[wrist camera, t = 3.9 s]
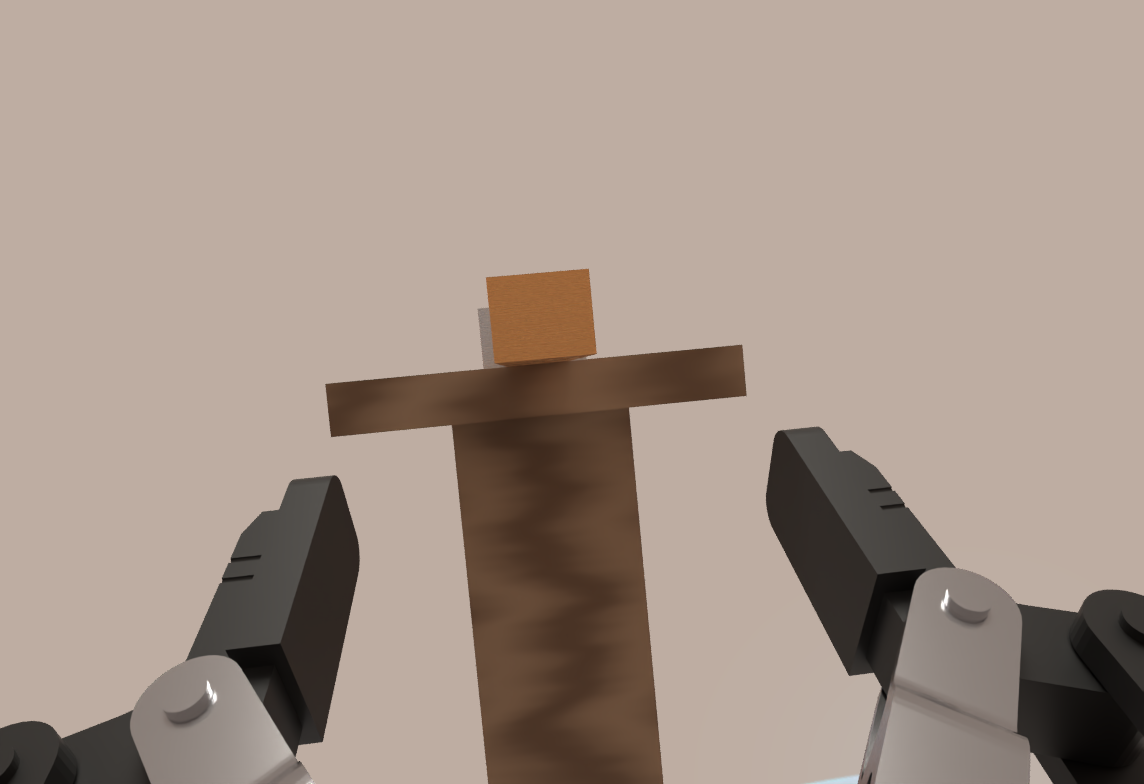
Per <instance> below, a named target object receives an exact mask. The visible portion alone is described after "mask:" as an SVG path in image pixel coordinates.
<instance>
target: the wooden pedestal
mask: <svg viewBox="0 0 1144 784" xmlns="http://www.w3.org/2000/svg"><path fill="white" fill-rule="evenodd" d="M326 393H327V403H328V413H329V421H330V431H331V437H336V436H346V435H356V434H366V433H376V432H386V431H395V430H407V429H416V428H427V427H436V426H447V425H452V430H453V439H454V450H455V460H456V470H457V479H458V489H459V499H460V509H461V519H462V529H463V539H464V547H465V559H466V568H467V578H468V588H469V597H470V608H471V618H472V626H473V627H472V628H473V637H474V647H475V657H476V666H477V677H478V687H479V697H480V706H481V716H482V726H483V736H484V746H485V756H486V765H487V776H488V784H663V775H662V765H661V753H660V742H659V731H658V721H657V710H656V700H655V688H654V677H653V667H652V655H651V645H650V633H649V623H648V612H647V600H646V590H645V579H644V568H643V557H642V547H641V536H640V525H639V514H638V503H637V492H636V481H635V471H634V459H633V449H632V437H631V426H630V415H629V407H638V406H648V405H658V404H667V403H679V402H689V401H698V400H708V399H719V398H728V397H739V396H746V384H745V372H744V362H743V349H742V345H735V346H725V347H714V348H703V349H692V350H682V351H671V352H661V353H650V354H639V355H629V356H619V357H608V358H597V359H586V360H576V361H565V362H554V363H544V364H533V365H522V366H512V367H501V368H491V369H480V370H469V371H459V372H448V373H438V374H427V375H416V376H406V377H396V378H384V379H374V380H363V381H352V382H342V383H331V384H326Z"/></svg>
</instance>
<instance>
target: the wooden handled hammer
mask: <svg viewBox="0 0 1144 784" xmlns="http://www.w3.org/2000/svg"><path fill="white" fill-rule="evenodd" d="M589 279H590V278H589V269H581V270H569V271H557V272H546V273H535V274H524V275H523V274H522V275H511V276H499V277H487V278H486V282H487V292H488V302H489V308H482V309H478V316H479V326H480V336H481V346H482V355H483V366H484V369H491V368H501V367H512V366H522V365H533V364H544V363H554V362H565V361H576V360H586V357H587V356H591V355H594V354H597V353H596V342H595V332H594V322H593V310H592V299H591V288H590V280H589Z"/></svg>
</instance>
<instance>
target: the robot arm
mask: <svg viewBox="0 0 1144 784" xmlns="http://www.w3.org/2000/svg"><path fill="white" fill-rule="evenodd" d="M766 505H767V512H768V516H769V520H770V523H771V526H772V528H773V530H774V532H775V534H776V536H777V538H778V540H779V541H780V543H781V545H782V547H783V549H784V551H785V553H786V555H787V557H788V559H789V561H790V563H791V565H792V567H793V568H794V570H795V572H796V574H797V576H798V578H799V580H800V582H801V584H802V586H803V587H804V590H805V592H806V593H807V595H808V597H809V599H810V601H811V603H812V605H813V607H814V609H815V611H816V612H817V615H818V617H819V619H820V620H821V623H822V624H823V626H824V628H825V630H826V632H827V634H828V636H829V638H830V640H831V642H832V644H833V646H834V648H835V649H836V651H837V653H838V655H839V657H840V659H841V661H842V663H843V665H844V667H845V669H846V671H847V673H848V675H849V676H852V675H859V674H867V673H874V674H875V675H876V677H877V679H878V681H879V683H880V685H881V686H882V687H881V690H880V693H879V696H878V700H877V704H876V708H875V712H874V717H873V721H872V725H871V730H870V734H869V738H868V742H867V746H866V750H865V755H864V759H863V764H862V768H861V772H860V776H859V780H858V784H1029V781H1030V779H1029V778H1030V752H1031V753H1034V754H1035V756H1036V758H1037V759H1038V761H1039V762H1040V764H1041V765H1042V767H1043V769H1044V770H1045V772H1046V773H1047V775H1048V776H1049V778H1050V779H1051V781H1052V782H1053V784H1144V596H1142V595H1139V594H1136V593H1132V592H1128V591H1122V590H1102V591H1097V592H1094V593H1092V594H1091V595H1089V596H1088V597H1087V598H1086V599H1085V600H1084V602H1083V604H1082V606H1081V608H1080V610H1079V612H1078V613H1076V612H1069V611H1062V610H1056V609H1049V608H1042V607H1041V608H1040V607H1035V606H1028V605H1022V604H1017V603H1015V601H1014V600H1013V599H1012V597H1011V596H1010V595H1009V594H1008V593H1007V592H1006V591H1005V590H1003V589H1002V588H1001V587H1000V586H998V585H997V584H995V583H994V582H992V581H991V580H989V579H987V578H985V577H983V576H981V575H979V574H976V573H973V572H970V571H967V570H963V569H957V568H955V566H954V565H953V564H952V563H951V561H950V560H949V559H948V558H947V556H946V555H945V554H944V552H943V551H942V550H941V549H940V547H939V546H938V545H937V544H936V542H935V541H934V540H933V539H932V537H931V536H930V535H929V534H928V532H927V531H926V530H925V529H924V527H923V526H922V525H921V523H920V522H919V521H918V520H917V518H916V517H915V516H914V515H913V513H912V512H911V511H910V509H909V508H905V505H904V502H903V501H902V499H901V498H900V497H899V496H898V494H897V493H896V492H895V491H892V489H891V486H890V484H889V483H888V482H887V480H886V479H885V478H884V477H883V475H882V474H881V473H880V472H879V470H878V469H877V468H876V467H875V466H874V465H872V464H870V463H869V462H868V461H866V460H865V459H863V458H862V457H860V456H858V455H857V454H855V453H854V452H852V451H842V452H839V450H838V449H837V448H836V446H835V445H834V444H833V442H832V441H831V439H830V438H829V437H828V435H827V434H826V433H825V431H824V430H823V429H822V428H820V427H810V428H801V429H791V430H781V431H778V432H777V433H776V435H775V438H774V443H773V449H772V456H771V463H770V471H769V478H768V485H767V493H766ZM359 561H360V560H359V544H358V539H357V535H356V532H355V528H354V525H353V521H352V518H351V515H350V512H349V508H348V505H347V501H346V498H345V495H344V491H343V488H342V485H341V482H340V480H339V478H338V477H337V476H335V475H334V476H324V477H316V478H305V479H296V480H292V481H291V482H290V484H289V486H288V488H287V491H286V493H285V496H284V499H283V501H282V504H281V506H280V509H279V510H275V511H266V512H262V513H261V514H260V515H259V516H258V517H257V518H256V519H255V520H254V521H253V522H252V523H251V524H250V526H249V527H248V528H247V529H246V530H245V531H244V532H243V533H242V534H241V536H240V538H239V540H238V543H237V545H236V547H235V550H234V552H233V554H232V557H231V563H228V566H227V568H226V570H225V572H224V575H223V577H222V583H220V584H219V586H218V589H217V591H216V593H215V595H214V598H213V600H212V602H211V605H210V607H209V609H208V612H207V614H206V616H205V618H204V621H203V623H202V625H201V628H200V630H199V632H198V634H197V637H196V639H195V641H194V644H193V646H192V648H191V651H190V653H189V655H188V658H187V659H186V661H185V662H183V663H181V664H179V665H177V666H175V667H173V668H171V669H170V670H168V671H167V672H165V673H164V674H162V675H161V676H160V677H159V678H158V679H157V680H155V681H154V682H153V683H152V684H151V685H150V686H149V687H148V688H147V689H146V690H145V692H144V693H143V694H142V696H141V697H140V699H139V700H138V702H137V703H136V705H135V707H134V710H132V711H130V712H128V713H126V714H123V715H121V716H119V717H116V718H114V719H111V720H109V721H106V722H103V723H101V724H98V725H96V726H93V727H90V728H88V729H85V730H83V731H80V732H78V733H75V734H73V735H70V736H67V737H65V738H62V739H61V737H60V736H59V735H58V734H57V732H56V731H55V730H54V729H53V727H51V726H50V725H48V724H46V723H43V722H37V721H28V722H20V723H16V724H12V725H9V726H6V727H4V728H1V729H0V784H315V783H314V781H313V780H312V778H311V777H310V775H309V773H308V772H307V770H306V769H305V767H304V766H303V765H302V763H301V762H300V761H299V762H298V761H297V759H296V758H295V757H296V753H297V749H298V745H302V744H311V743H318V742H323V738H324V733H325V728H326V724H327V718H328V714H329V709H330V704H331V700H332V695H333V690H334V685H335V681H336V676H337V672H338V667H339V662H340V658H341V653H342V648H343V643H344V639H345V634H346V629H347V624H348V620H349V615H350V610H351V606H352V601H353V596H354V592H355V587H356V582H357V577H358V572H359Z"/></svg>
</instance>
